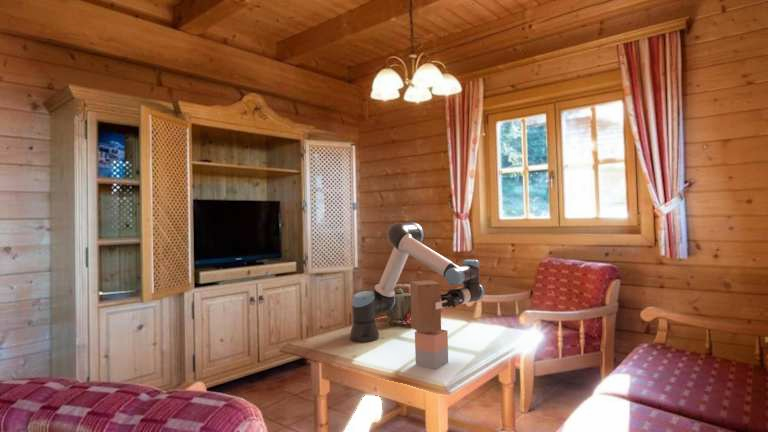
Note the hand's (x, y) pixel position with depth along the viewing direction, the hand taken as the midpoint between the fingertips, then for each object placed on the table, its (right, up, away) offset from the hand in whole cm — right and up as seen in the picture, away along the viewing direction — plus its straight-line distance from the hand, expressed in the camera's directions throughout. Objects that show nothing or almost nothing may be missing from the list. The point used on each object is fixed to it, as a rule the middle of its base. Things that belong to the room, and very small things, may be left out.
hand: (424, 303), depth 189 cm
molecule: (+7, -25, +71) cm, 76 cm away
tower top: (+3, -19, +3) cm, 20 cm away
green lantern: (-5, -26, +86) cm, 90 cm away
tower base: (+3, -26, +3) cm, 27 cm away
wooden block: (+1, -11, +1) cm, 11 cm away
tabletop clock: (-8, -26, +71) cm, 76 cm away
